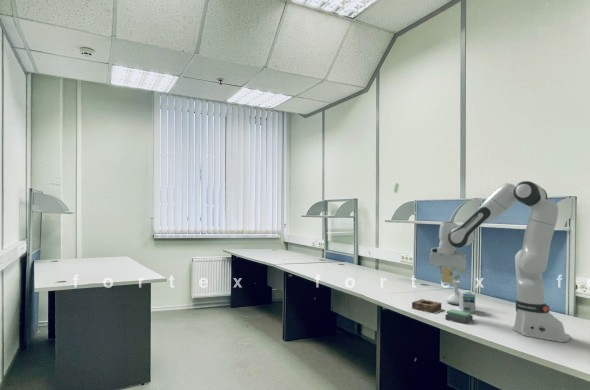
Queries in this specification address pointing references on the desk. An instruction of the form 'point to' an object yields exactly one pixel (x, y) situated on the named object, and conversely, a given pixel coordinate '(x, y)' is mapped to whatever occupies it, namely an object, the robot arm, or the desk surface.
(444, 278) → the block
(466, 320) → the block
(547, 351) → the desk surface
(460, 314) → the button
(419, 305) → the brown square frame
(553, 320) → the robot arm
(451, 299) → the flower in vase
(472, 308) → the light bulb box
